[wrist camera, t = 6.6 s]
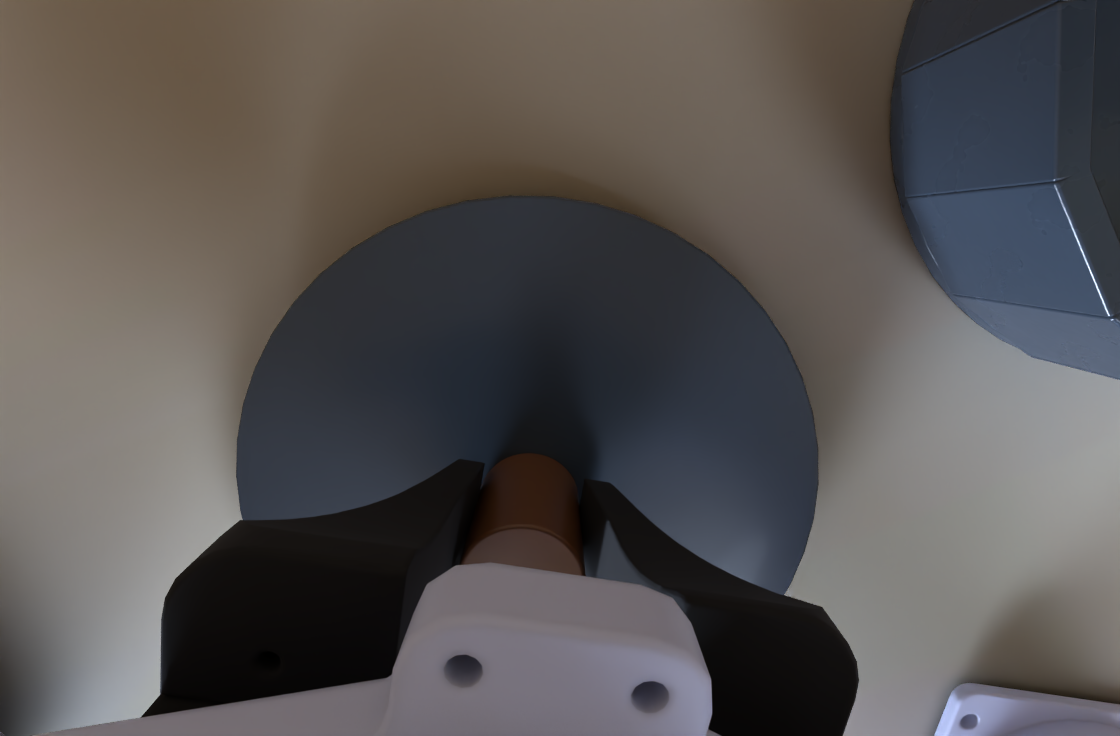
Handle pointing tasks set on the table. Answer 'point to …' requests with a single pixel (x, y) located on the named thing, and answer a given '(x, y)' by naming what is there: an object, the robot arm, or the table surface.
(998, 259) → the pan
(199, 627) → the robot arm
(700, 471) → the lid
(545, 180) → the table surface
